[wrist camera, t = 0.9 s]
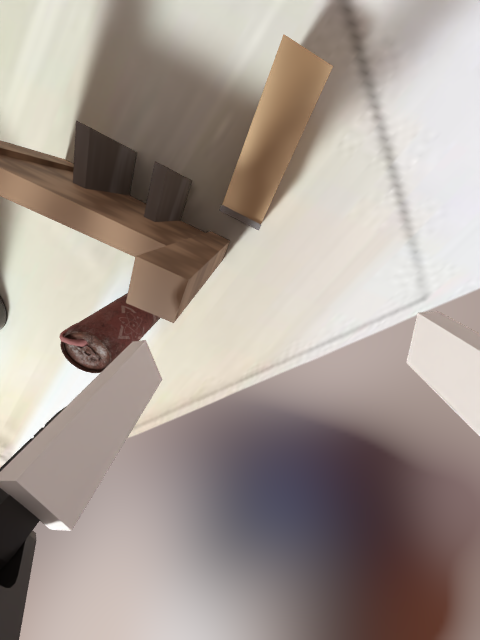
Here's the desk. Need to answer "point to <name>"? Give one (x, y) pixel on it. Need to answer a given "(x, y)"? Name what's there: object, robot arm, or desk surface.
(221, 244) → the wooden u-shaped stand
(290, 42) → the tan rectangular block
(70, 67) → the desk surface
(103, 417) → the robot arm
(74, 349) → the can
